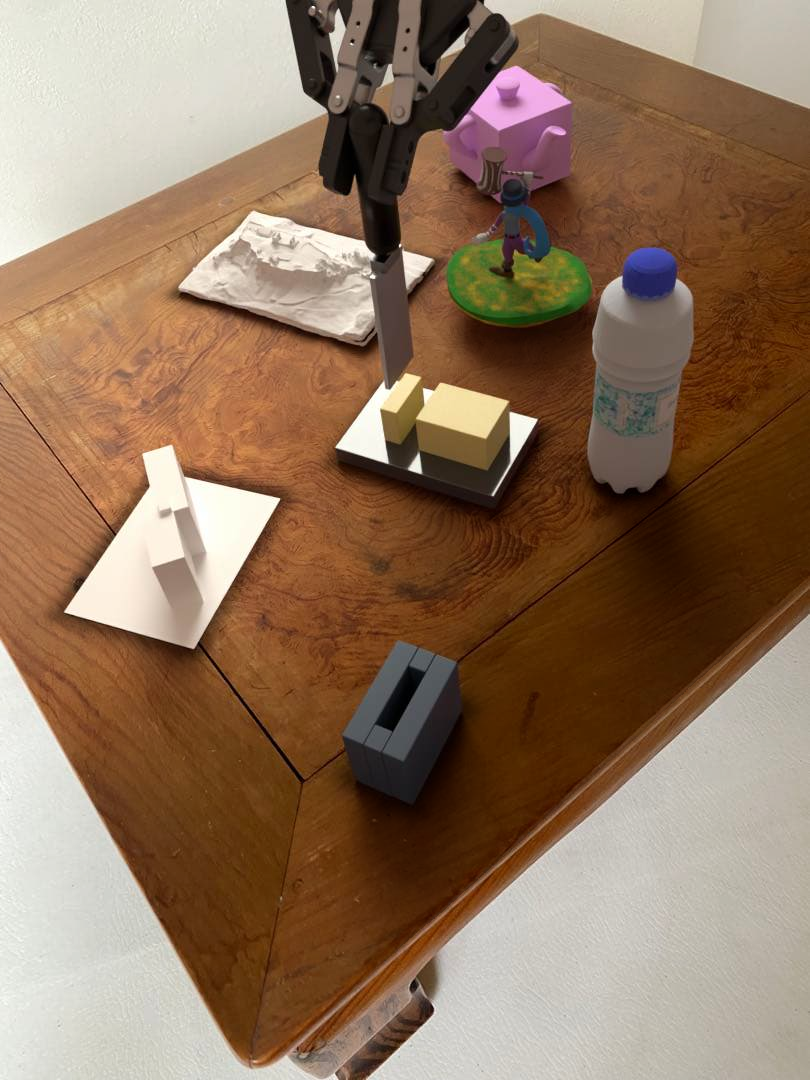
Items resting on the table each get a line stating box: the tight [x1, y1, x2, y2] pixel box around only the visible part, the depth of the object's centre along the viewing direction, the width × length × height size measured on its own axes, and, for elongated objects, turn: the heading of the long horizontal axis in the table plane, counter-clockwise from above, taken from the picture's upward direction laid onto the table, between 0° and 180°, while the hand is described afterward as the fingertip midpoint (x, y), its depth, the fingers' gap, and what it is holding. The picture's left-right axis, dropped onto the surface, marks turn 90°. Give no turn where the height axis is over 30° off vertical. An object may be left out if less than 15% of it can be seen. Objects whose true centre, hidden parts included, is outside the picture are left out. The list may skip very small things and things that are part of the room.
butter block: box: [415, 382, 511, 470], centre depth 78 cm, size 6×4×4 cm
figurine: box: [445, 147, 593, 328], centre depth 86 cm, size 14×13×15 cm
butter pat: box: [380, 372, 425, 445], centre depth 80 cm, size 2×4×4 cm, turn 153°
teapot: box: [442, 64, 574, 204], centre depth 101 cm, size 18×14×10 cm
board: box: [334, 380, 539, 510], centre depth 81 cm, size 14×9×2 cm, turn 63°
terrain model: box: [177, 210, 435, 347], centre depth 96 cm, size 17×23×5 cm
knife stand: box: [341, 639, 463, 805], centre depth 62 cm, size 4×7×6 cm, turn 153°
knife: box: [348, 102, 415, 390], centre depth 60 cm, size 2×4×19 cm, turn 153°
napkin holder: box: [63, 444, 281, 650], centre depth 74 cm, size 15×11×6 cm
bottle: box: [587, 247, 695, 495], centre depth 70 cm, size 7×7×20 cm
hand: (358, 195), depth 54 cm, fingers closed on knife, 2 cm apart
